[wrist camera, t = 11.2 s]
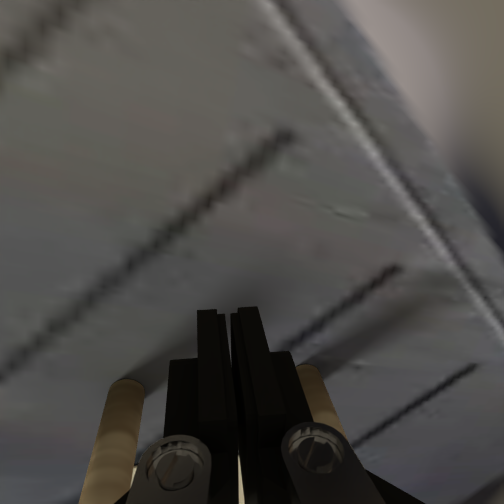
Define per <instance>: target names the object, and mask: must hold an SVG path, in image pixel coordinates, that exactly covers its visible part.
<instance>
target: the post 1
mask: <svg viewBox="0 0 504 504" xmlns="http://www.w3.org/2000/svg"><path fill="white" fill-rule="evenodd" d="M144 396H145V390H144V388H143V386H142V385H141V384H140V383H139V382H137V381H135V380H131V379H123V380H119V381H117V382H115V383H114V384H112V385H111V387H110V389H109V392H108V396H107V400H106V403H105V407H104V411H103V415H102V418H101V422H100V426H99V430H98V433H97V437H96V441H95V445H94V448H93V452H92V456H91V459H90V463H89V467H88V471H87V474H86V478H85V482H84V486H83V489H82V493H81V497H80V501H79V504H114V503H115V502H116V501H117V500H118V499H120V498H121V497H122V496H123V495H124V494H125V493H126V492H127V491H129V490H130V487H131V481H132V474H133V468H134V461H135V455H136V448H137V442H138V435H139V429H140V422H141V416H142V409H143V403H144Z"/></svg>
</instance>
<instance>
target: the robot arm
mask: <svg viewBox="0 0 504 504" xmlns="http://www.w3.org/2000/svg"><path fill="white" fill-rule="evenodd" d="M230 317H231V360H230V352H229V344H228V337H227V329H226V321H225V314H217V309H210V310H197V342H198V358H192V359H179V360H170V365H169V377H168V389H167V401H166V413H165V425H164V437H163V439H160V440H158V441H157V442H155V443H154V444H152V445H151V446H150V447H149V448H148V449H147V450H146V451H145V452H144V453H143V455H142V457H141V459H140V461H139V463H138V466H137V469H136V472H135V475H134V478H133V482H132V485H131V488H130V490H129V491H127V492H126V493H125V494H124V495H123V496H122V497H121V498H120V499H118V500H117V501H116V502H115V503H114V504H239V472H238V450H239V459H240V468H241V476H242V485H243V493H244V502H245V504H425V503H423V502H422V501H420V500H418V499H416V498H415V497H413V496H411V495H409V494H408V493H406V492H404V491H402V490H401V489H399V488H397V487H395V486H394V485H392V484H390V483H388V482H387V481H385V480H383V479H381V478H380V477H378V476H376V475H374V474H373V473H371V472H369V471H367V470H366V469H365V468H364V467H363V465H362V464H361V462H360V460H359V459H358V457H357V455H356V454H355V452H354V450H353V449H352V447H351V445H350V444H349V442H348V441H347V439H346V438H345V437H344V436H343V435H342V433H340V432H339V431H338V430H336V429H335V428H333V427H331V426H329V425H326V424H324V423H318V422H314V420H313V417H312V414H311V411H310V408H309V405H308V402H307V399H306V397H305V394H304V391H303V388H302V385H301V382H300V379H299V376H298V373H297V370H296V367H295V364H294V361H293V359H292V356H291V353H290V352H289V351H282V352H270V351H269V347H268V344H267V340H266V336H265V332H264V329H263V325H262V321H261V318H260V314H259V310H258V307H257V306H256V307H241V308H238V313H231V316H230ZM231 366H232V368H231Z"/></svg>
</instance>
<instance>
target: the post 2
mask: <svg viewBox="0 0 504 504" xmlns="http://www.w3.org/2000/svg"><path fill="white" fill-rule="evenodd" d="M296 370H297V373H298V376H299V379H300V382H301V385H302V388H303V391H304V394H305V397H306V399H307V402H308V405H309V408H310V411H311V414H312V417H313V420H314V422H318V423H324V424H326V425H329V426H331V427H333V428H335V429H336V430H338V431H339V432H340V433H342V435H343V436H344V437H345V438H346V439H347V437H346V435H345V433H344V430H343V428H342V425H341V423H340V421H339V418H338V416H337V413H336V411H335V408H334V406H333V404H332V401H331V399H330V396H329V394H328V392H327V389H326V387H325V384H324V382H323V380H322V377H321V375H320V372H319V370H318V369H317V368H316V367H315V366H313V365H308V364H304V365H300V366H297V367H296ZM347 441H348V440H347Z"/></svg>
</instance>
